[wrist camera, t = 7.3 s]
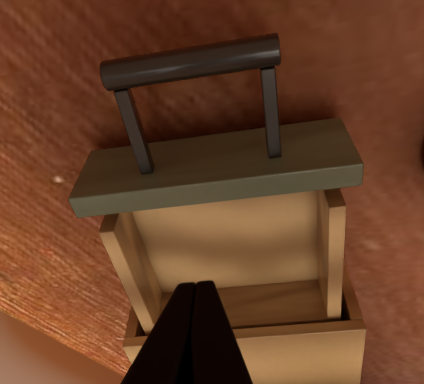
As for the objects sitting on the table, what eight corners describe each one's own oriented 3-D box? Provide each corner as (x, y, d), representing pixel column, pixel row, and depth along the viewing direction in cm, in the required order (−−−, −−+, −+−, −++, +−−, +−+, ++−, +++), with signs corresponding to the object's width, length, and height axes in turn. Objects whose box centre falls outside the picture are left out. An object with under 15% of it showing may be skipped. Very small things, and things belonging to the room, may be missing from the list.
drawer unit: (137, 272, 29) (121, 347, 24) (342, 252, 27) (366, 329, 23) (176, 365, 37) (169, 435, 32) (337, 354, 35) (355, 426, 31)
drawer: (50, 51, 18) (12, 89, 15) (345, 1, 17) (375, 32, 14) (147, 289, 29) (138, 343, 26) (335, 272, 27) (351, 327, 24)
